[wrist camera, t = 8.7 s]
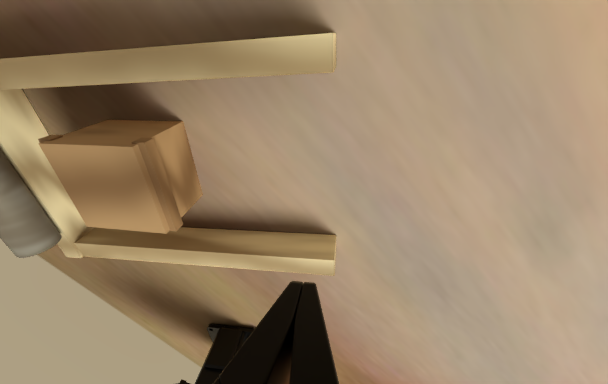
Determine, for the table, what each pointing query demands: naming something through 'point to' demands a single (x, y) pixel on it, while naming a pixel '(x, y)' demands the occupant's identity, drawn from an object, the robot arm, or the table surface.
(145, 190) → the box
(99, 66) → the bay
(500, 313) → the table surface
